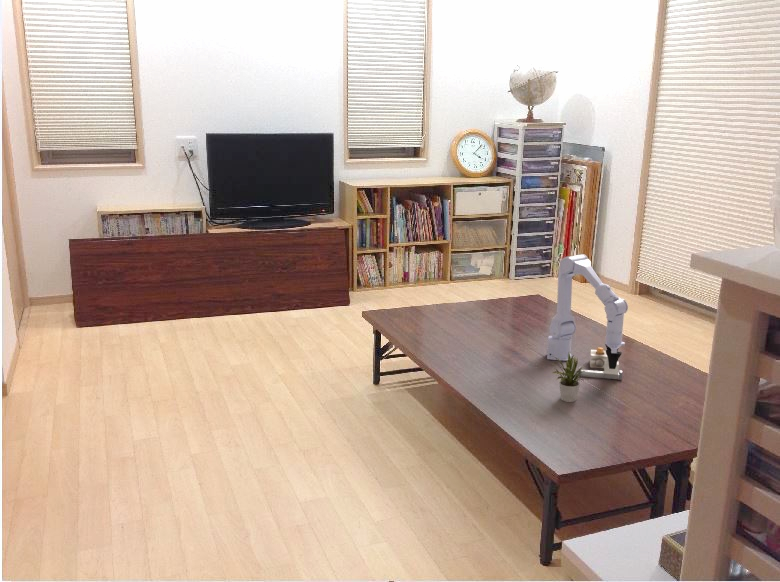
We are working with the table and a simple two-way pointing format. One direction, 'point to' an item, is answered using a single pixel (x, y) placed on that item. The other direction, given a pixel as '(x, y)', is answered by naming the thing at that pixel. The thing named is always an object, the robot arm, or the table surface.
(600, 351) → the plunger
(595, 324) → the table surface
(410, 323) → the table surface
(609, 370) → the block
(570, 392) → the house plant
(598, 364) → the cream cage with ball
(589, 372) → the rail
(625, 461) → the table surface
